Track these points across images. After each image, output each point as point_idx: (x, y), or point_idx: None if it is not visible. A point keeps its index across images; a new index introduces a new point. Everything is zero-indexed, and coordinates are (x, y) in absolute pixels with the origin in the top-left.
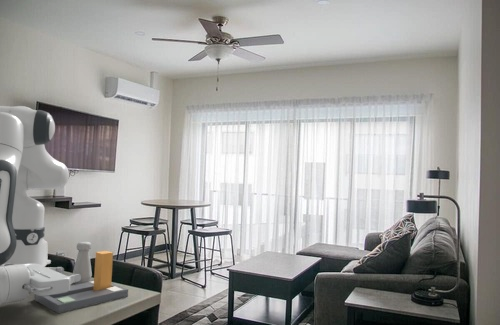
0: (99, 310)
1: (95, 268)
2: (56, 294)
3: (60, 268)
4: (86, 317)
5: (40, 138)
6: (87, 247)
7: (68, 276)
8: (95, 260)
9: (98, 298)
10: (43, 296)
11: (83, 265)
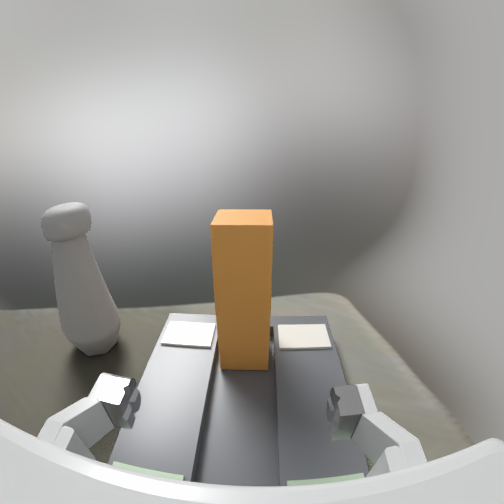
0: (413, 427)
1: (220, 297)
2: None
3: (124, 391)
4: None
5: None
6: (86, 221)
7: (409, 446)
8: (214, 264)
9: None
10: None
11: (94, 292)
